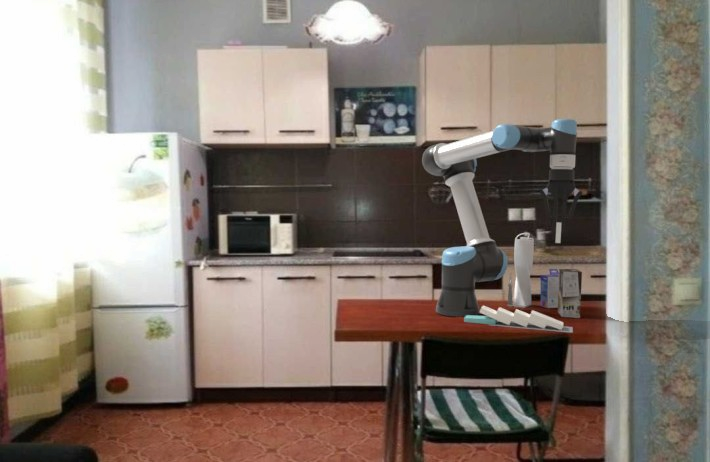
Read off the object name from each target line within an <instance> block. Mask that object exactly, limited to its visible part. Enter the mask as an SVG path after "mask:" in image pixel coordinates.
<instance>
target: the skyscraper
mask: <svg viewBox="0 0 710 462" xmlns="http://www.w3.org/2000/svg"><path fill="white" fill-rule="evenodd" d="M522 235H527V237H526V236H522ZM530 235H531V234H530V233H529V232H522V233H519V234H517V235H516V237H515V238H514V246H513V247H514V249H513V250H514V253H513V259H514V261H513V262H514V270H515V282H514V285H513V283H512V279H513V277H512V272H510V275H509V283H508V285H507V286H508V290H507V291H508V292H507V293H508V294H507V304H506V307H512V306H514V308H521V309H526V308H528V307H532V285H531V284H532V283H531V273H532V269H533V263H534V253H535V252H534V248H535V246H534V244H535V241H534V240H535V239H534V238H533V237H530ZM518 237H519V239H518ZM513 286H514V290H513Z"/></svg>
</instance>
